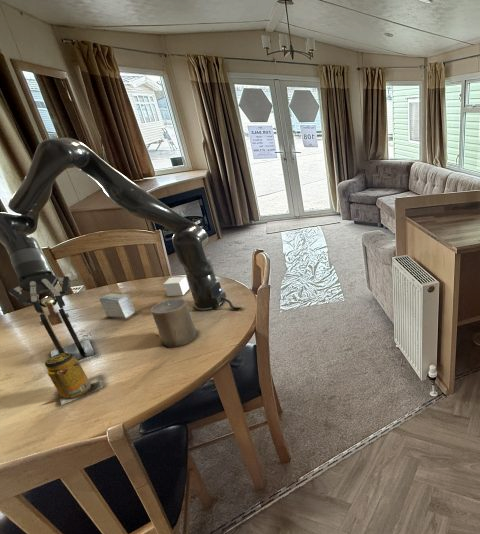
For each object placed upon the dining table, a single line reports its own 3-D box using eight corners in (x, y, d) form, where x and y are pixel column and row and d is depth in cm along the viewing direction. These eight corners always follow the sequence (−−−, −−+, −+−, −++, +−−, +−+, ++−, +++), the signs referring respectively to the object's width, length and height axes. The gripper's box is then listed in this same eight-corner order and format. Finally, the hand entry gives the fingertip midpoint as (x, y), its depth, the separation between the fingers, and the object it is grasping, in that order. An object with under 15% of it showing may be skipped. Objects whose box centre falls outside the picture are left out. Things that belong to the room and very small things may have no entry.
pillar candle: (202, 335, 120) (191, 299, 114) (172, 351, 112) (158, 312, 106) (187, 327, 124) (175, 292, 118) (157, 341, 116) (142, 304, 110)
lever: (41, 306, 109) (36, 297, 107) (57, 302, 112) (53, 293, 110) (49, 328, 102) (44, 319, 100) (66, 323, 105) (61, 314, 103)
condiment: (58, 392, 95) (39, 358, 90) (99, 376, 101) (82, 343, 96) (61, 405, 91) (41, 371, 86) (103, 388, 97) (86, 354, 92)
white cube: (189, 288, 151) (185, 276, 149) (183, 295, 146) (179, 282, 144) (173, 289, 150) (169, 277, 148) (167, 296, 145) (163, 283, 142)
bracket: (51, 354, 109) (28, 312, 103) (89, 341, 116) (70, 301, 109) (56, 371, 102) (31, 327, 96) (96, 356, 109) (76, 315, 102)
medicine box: (137, 314, 132) (129, 294, 128) (126, 320, 128) (118, 300, 124) (118, 312, 132) (110, 293, 129) (107, 318, 128) (98, 298, 125)
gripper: (-7, 266, 103) (15, 314, 101) (59, 254, 113) (80, 297, 111) (1, 277, 108) (22, 323, 106) (64, 264, 118) (84, 306, 116)
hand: (52, 309), depth 108 cm, fingers closed on lever, 3 cm apart
